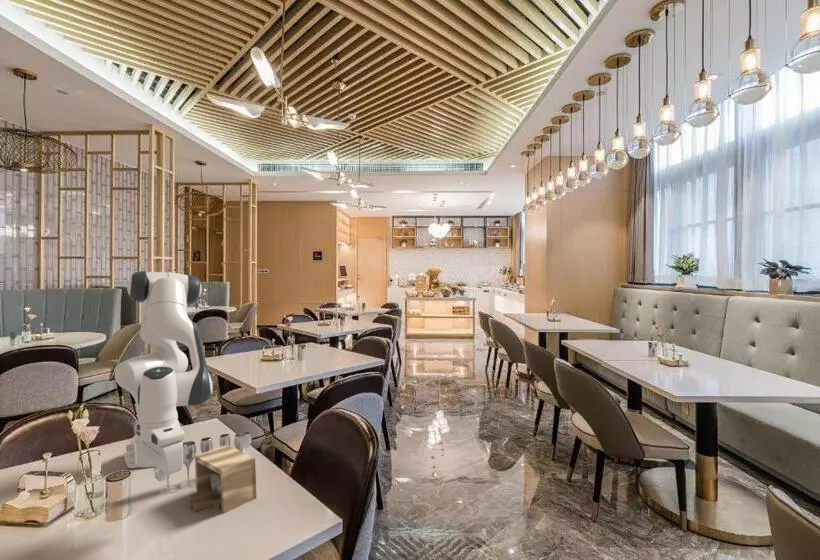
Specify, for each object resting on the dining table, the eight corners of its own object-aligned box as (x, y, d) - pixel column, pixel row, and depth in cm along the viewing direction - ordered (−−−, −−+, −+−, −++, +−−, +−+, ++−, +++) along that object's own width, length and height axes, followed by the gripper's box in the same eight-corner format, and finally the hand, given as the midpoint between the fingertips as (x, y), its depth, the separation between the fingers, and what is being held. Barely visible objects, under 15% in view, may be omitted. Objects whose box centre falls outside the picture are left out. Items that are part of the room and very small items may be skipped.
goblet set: (160, 496, 131) (159, 453, 131) (158, 488, 136) (157, 447, 136) (254, 469, 148) (253, 431, 147) (249, 463, 152) (248, 426, 152)
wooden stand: (196, 494, 131) (194, 455, 131) (227, 481, 139) (226, 444, 139) (224, 513, 121) (222, 470, 120) (256, 498, 128) (255, 458, 128)
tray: (184, 504, 126) (183, 483, 126) (225, 487, 136) (224, 467, 136) (201, 516, 119) (201, 494, 119) (243, 498, 129) (243, 477, 129)
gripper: (132, 423, 120) (133, 471, 121) (161, 442, 107) (162, 496, 108) (157, 417, 125) (158, 463, 126) (187, 434, 112) (188, 486, 112)
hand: (160, 479), depth 116 cm, fingers closed
